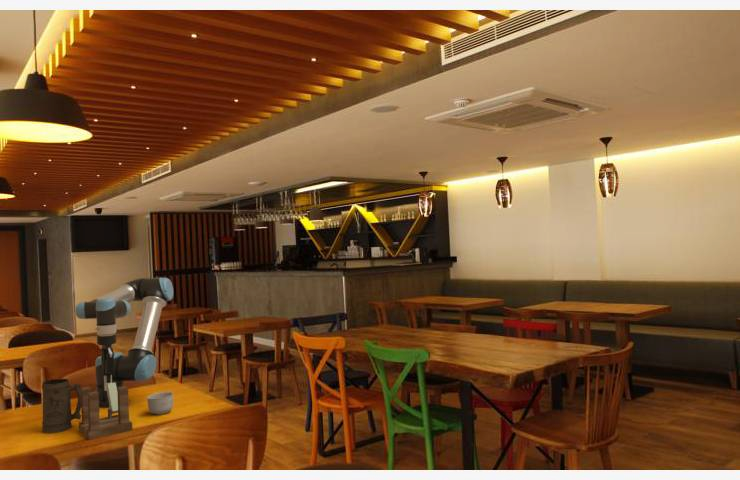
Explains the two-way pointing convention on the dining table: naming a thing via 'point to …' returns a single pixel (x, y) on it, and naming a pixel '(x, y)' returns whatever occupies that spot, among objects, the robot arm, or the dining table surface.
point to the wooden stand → (106, 425)
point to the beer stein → (59, 405)
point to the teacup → (160, 402)
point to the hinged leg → (112, 397)
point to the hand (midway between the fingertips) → (108, 390)
